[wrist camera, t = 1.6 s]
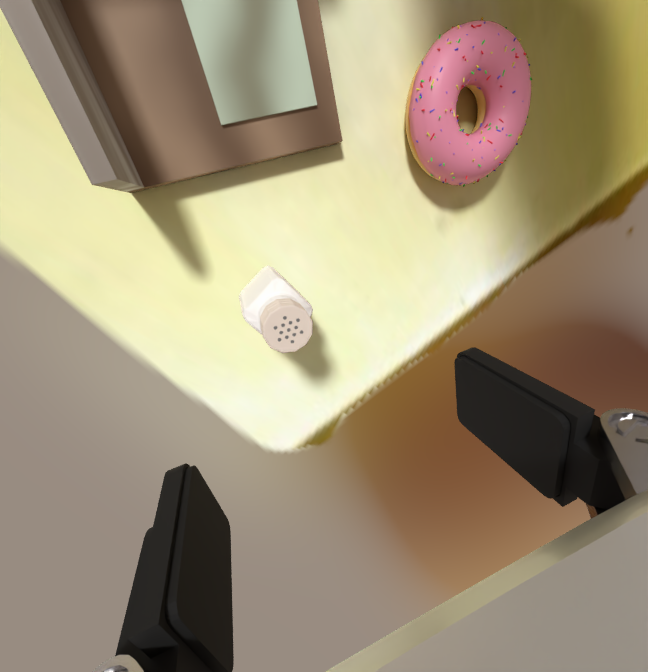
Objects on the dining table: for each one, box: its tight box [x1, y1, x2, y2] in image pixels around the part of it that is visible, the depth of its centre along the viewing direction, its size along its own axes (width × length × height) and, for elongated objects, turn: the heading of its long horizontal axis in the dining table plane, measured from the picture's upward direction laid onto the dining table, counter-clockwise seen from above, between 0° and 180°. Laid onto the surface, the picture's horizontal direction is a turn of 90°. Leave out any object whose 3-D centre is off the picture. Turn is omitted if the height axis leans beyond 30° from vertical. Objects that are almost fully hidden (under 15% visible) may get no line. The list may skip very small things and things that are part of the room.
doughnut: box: [405, 17, 532, 187], centre depth 25 cm, size 11×11×4 cm
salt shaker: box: [239, 266, 313, 353], centre depth 23 cm, size 4×4×10 cm
